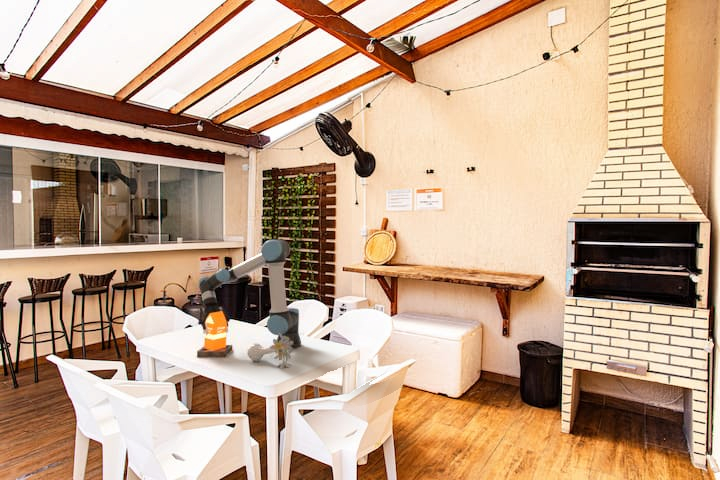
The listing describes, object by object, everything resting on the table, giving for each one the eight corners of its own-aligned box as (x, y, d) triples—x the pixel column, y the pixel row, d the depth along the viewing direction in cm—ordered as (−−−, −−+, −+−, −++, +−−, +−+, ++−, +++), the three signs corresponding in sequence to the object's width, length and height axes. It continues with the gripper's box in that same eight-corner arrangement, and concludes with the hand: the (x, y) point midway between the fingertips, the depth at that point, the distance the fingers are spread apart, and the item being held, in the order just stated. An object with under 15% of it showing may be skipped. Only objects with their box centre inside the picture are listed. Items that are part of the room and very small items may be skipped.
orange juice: (204, 348, 231) (204, 312, 231) (217, 344, 239) (217, 310, 239) (213, 350, 227) (214, 314, 227) (226, 347, 235) (227, 311, 234)
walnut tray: (232, 350, 240) (232, 345, 240) (224, 357, 226) (224, 351, 226) (206, 349, 240) (206, 344, 240) (197, 356, 226) (197, 351, 226)
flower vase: (249, 375, 218) (288, 371, 208) (239, 342, 216) (277, 336, 206) (264, 364, 230) (301, 359, 220) (254, 333, 228) (291, 326, 218)
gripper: (227, 302, 252) (235, 334, 239) (188, 305, 238) (194, 339, 226) (230, 295, 247) (239, 326, 235) (190, 297, 234) (197, 331, 222)
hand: (217, 332), depth 230 cm, fingers closed on orange juice, 10 cm apart
